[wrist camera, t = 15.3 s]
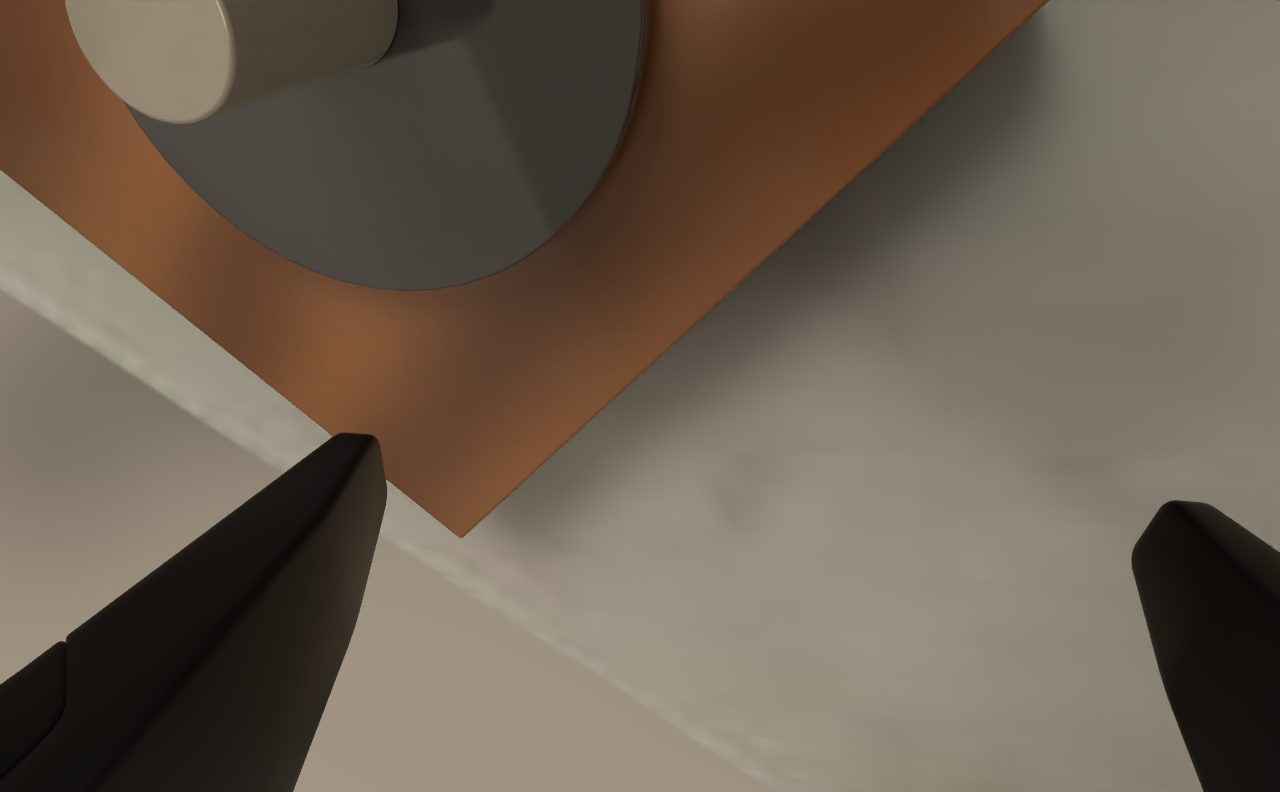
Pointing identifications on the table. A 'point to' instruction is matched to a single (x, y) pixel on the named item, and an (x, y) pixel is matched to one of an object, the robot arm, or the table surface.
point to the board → (551, 276)
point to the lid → (380, 120)
